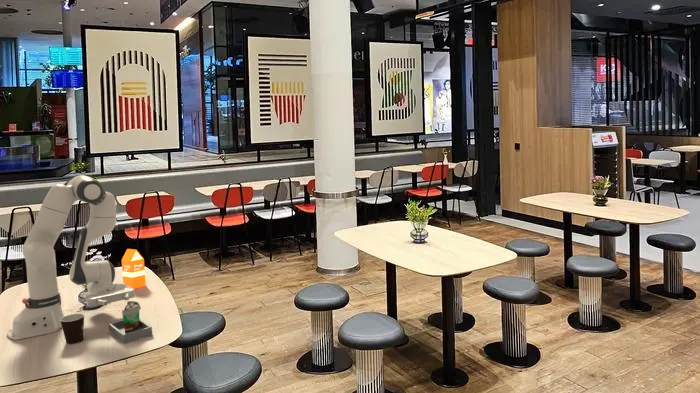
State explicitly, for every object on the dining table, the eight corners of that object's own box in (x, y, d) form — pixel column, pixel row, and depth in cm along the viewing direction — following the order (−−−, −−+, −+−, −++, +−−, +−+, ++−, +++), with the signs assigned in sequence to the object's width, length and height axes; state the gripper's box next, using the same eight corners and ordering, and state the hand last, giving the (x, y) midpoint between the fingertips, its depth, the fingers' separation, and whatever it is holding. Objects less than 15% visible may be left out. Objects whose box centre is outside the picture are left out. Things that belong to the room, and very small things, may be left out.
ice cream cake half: (140, 332, 229) (137, 309, 227) (124, 334, 228) (121, 310, 226) (144, 321, 241) (142, 299, 239) (129, 323, 240) (127, 300, 238)
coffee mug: (77, 345, 220) (74, 322, 219) (58, 345, 222) (55, 321, 220) (95, 334, 231) (93, 311, 230) (77, 333, 233) (74, 310, 231)
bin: (124, 343, 220) (123, 335, 220) (109, 331, 234) (108, 323, 233) (152, 335, 228) (151, 327, 227) (136, 323, 241) (135, 316, 241)
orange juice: (136, 284, 300) (133, 247, 298) (146, 285, 295) (143, 248, 293) (123, 287, 293) (120, 250, 292) (132, 288, 288) (130, 250, 287)
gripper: (80, 292, 243) (90, 299, 232) (127, 282, 256) (139, 289, 246) (81, 305, 244) (91, 313, 233) (128, 295, 257) (140, 302, 247)
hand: (116, 301), depth 240 cm, fingers open, 8 cm apart
